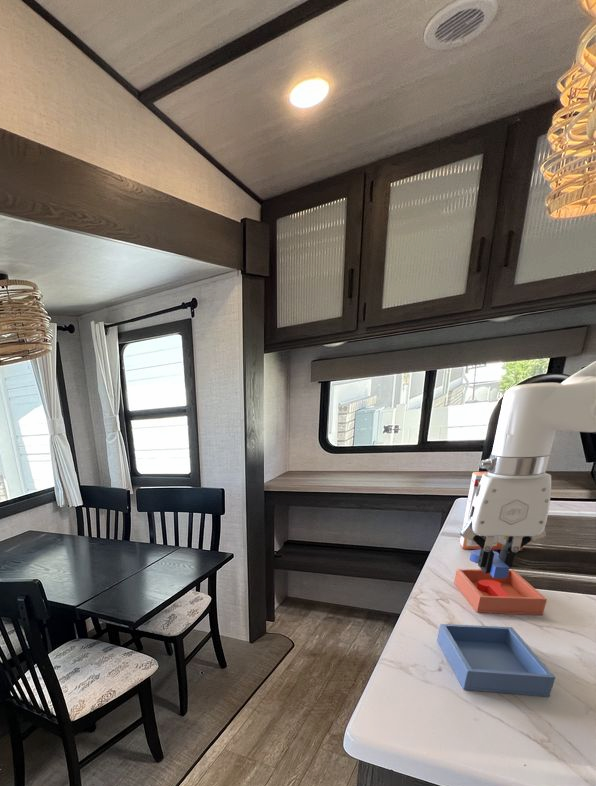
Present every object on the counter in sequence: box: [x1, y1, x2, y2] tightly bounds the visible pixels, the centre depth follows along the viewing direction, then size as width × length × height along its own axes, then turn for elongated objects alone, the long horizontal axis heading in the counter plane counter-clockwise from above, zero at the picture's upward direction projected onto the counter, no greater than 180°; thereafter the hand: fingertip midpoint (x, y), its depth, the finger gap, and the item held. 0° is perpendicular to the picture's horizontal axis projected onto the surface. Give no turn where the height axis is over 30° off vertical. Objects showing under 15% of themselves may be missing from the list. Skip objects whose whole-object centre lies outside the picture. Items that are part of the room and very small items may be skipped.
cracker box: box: [459, 471, 524, 552], centre depth 128 cm, size 14×6×21 cm, turn 65°
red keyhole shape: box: [477, 580, 510, 597], centre depth 104 cm, size 11×4×2 cm, turn 163°
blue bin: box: [436, 623, 556, 698], centre depth 80 cm, size 12×17×4 cm
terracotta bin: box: [453, 568, 548, 616], centre depth 103 cm, size 12×17×4 cm
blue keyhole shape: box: [469, 549, 510, 578], centre depth 85 cm, size 11×4×2 cm, turn 162°
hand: (493, 570), depth 84 cm, fingers closed on blue keyhole shape, 2 cm apart
